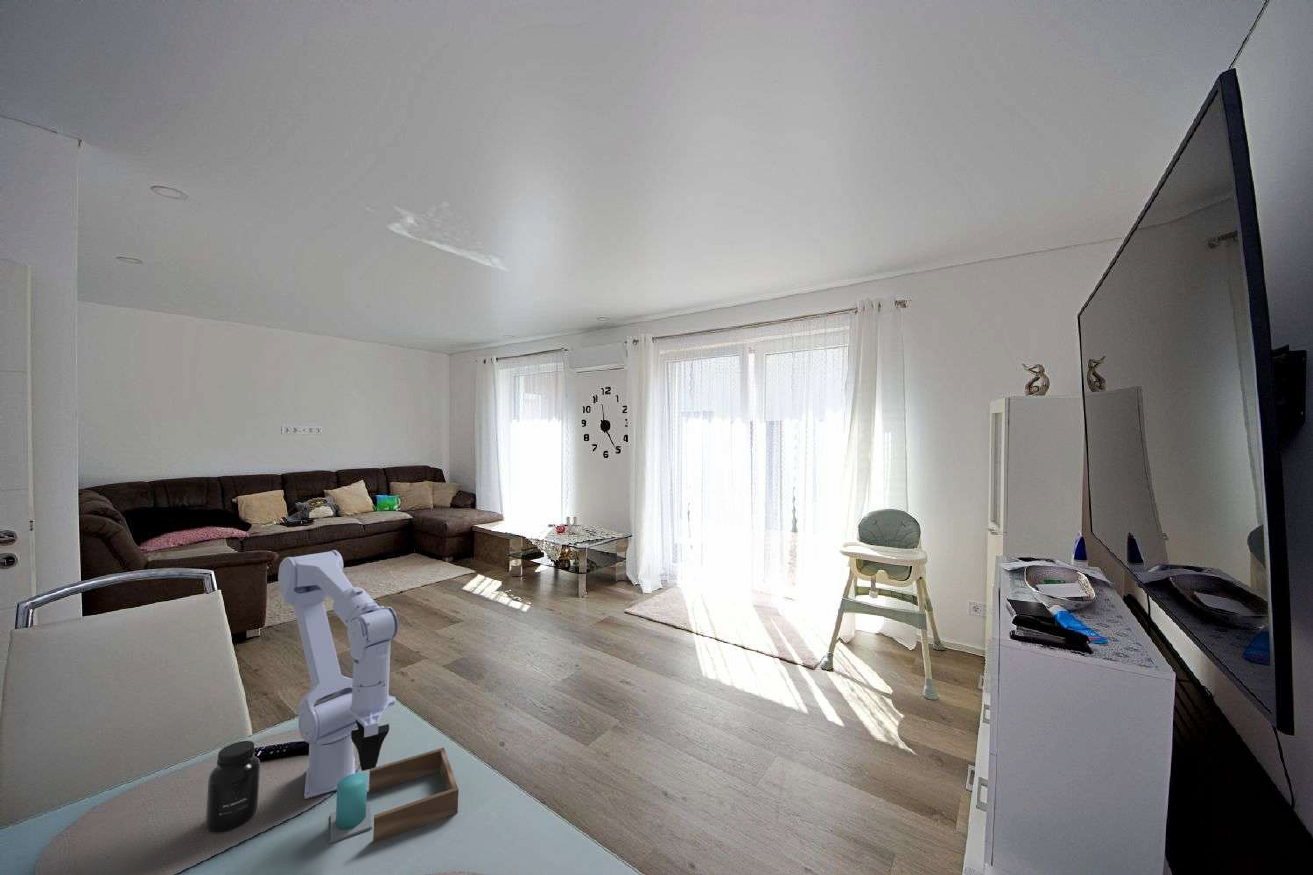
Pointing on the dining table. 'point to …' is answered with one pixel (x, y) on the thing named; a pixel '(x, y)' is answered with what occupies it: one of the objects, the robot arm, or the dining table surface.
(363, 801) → the capsule
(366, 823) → the mat
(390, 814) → the open u-shaped frame
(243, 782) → the supplement bottle
